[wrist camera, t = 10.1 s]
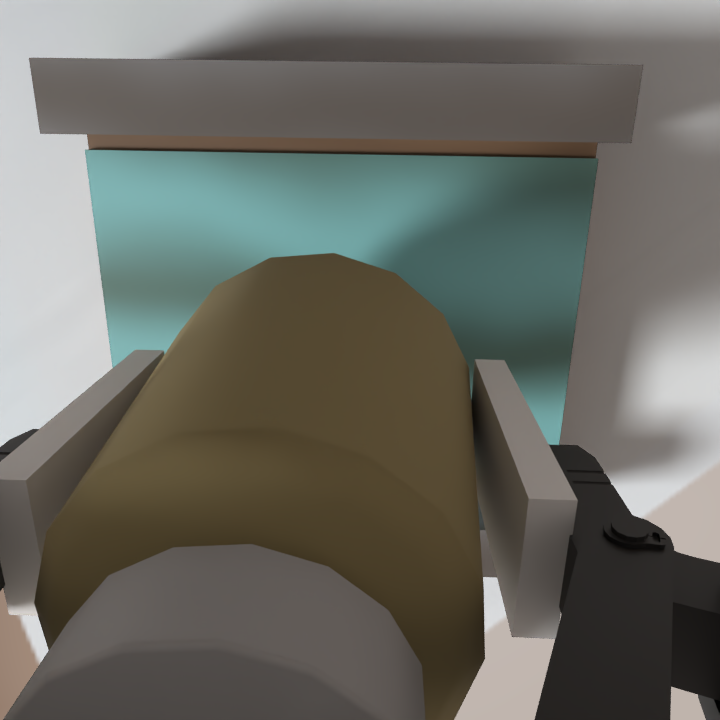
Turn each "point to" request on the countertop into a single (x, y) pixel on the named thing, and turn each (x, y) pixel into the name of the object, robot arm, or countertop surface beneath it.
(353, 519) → the squeeze bottle
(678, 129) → the countertop surface
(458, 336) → the dock
